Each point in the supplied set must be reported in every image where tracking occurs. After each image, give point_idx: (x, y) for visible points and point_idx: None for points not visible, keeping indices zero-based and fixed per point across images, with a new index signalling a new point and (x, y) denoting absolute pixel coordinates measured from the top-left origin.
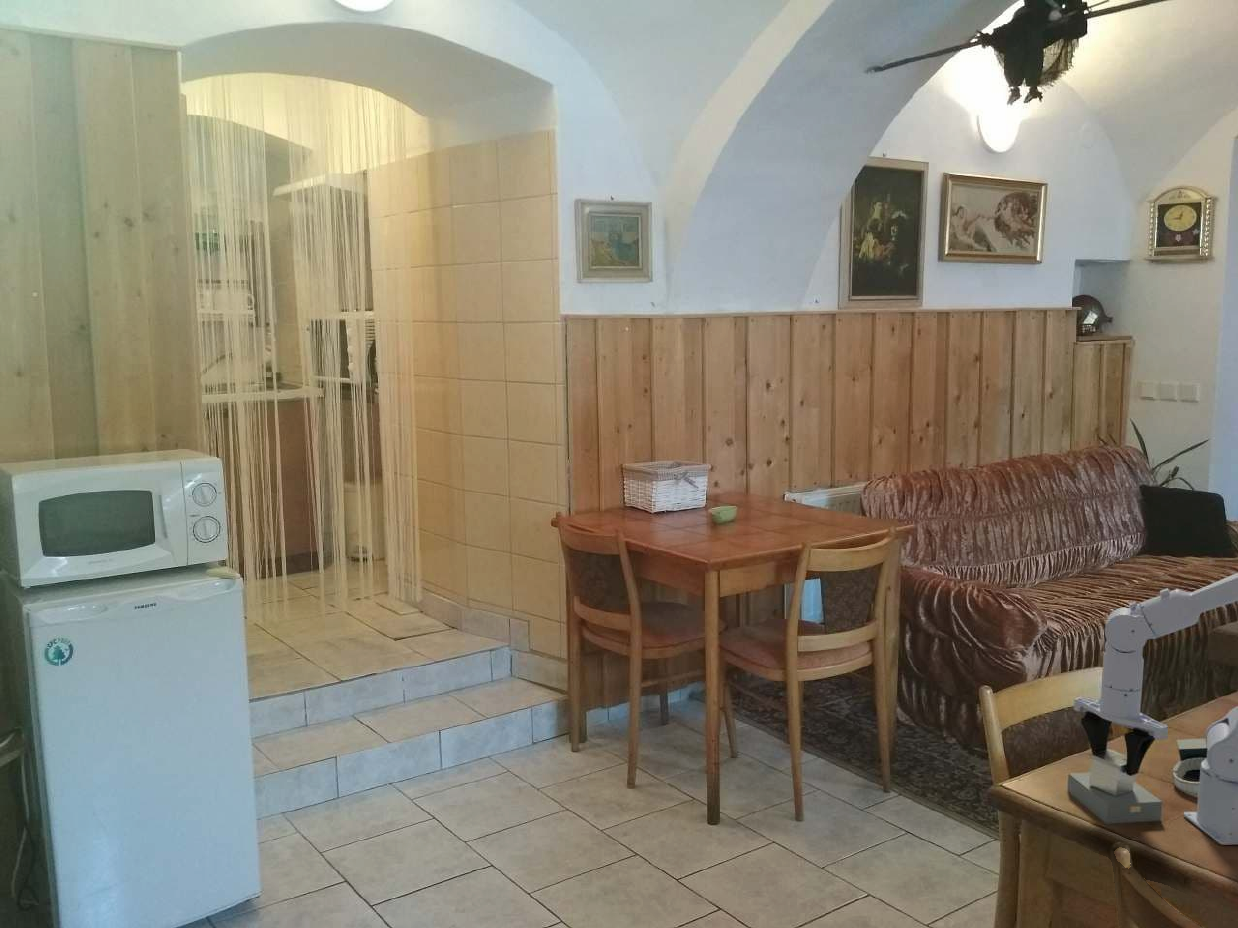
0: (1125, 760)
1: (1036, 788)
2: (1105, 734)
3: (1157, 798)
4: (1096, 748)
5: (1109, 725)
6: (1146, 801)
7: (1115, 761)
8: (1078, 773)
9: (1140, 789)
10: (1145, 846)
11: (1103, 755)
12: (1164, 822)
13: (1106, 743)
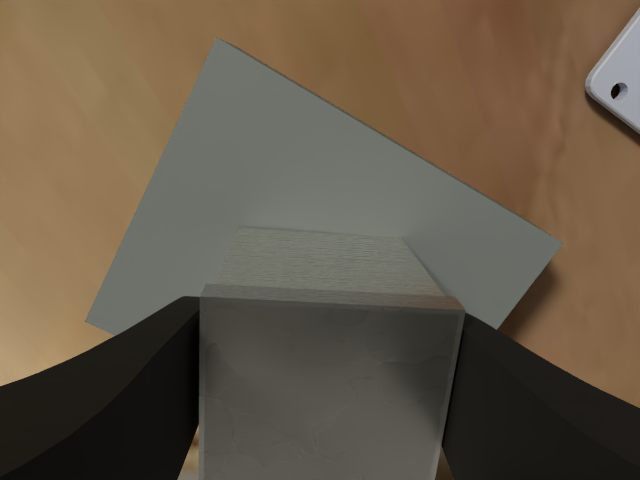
0: (406, 396)
1: (40, 357)
2: (131, 433)
3: (532, 227)
4: (179, 470)
5: (78, 453)
6: (504, 303)
7: (368, 470)
8: (112, 281)
9: (424, 194)
10: None
11: (256, 452)
12: (536, 219)
13: (168, 343)
